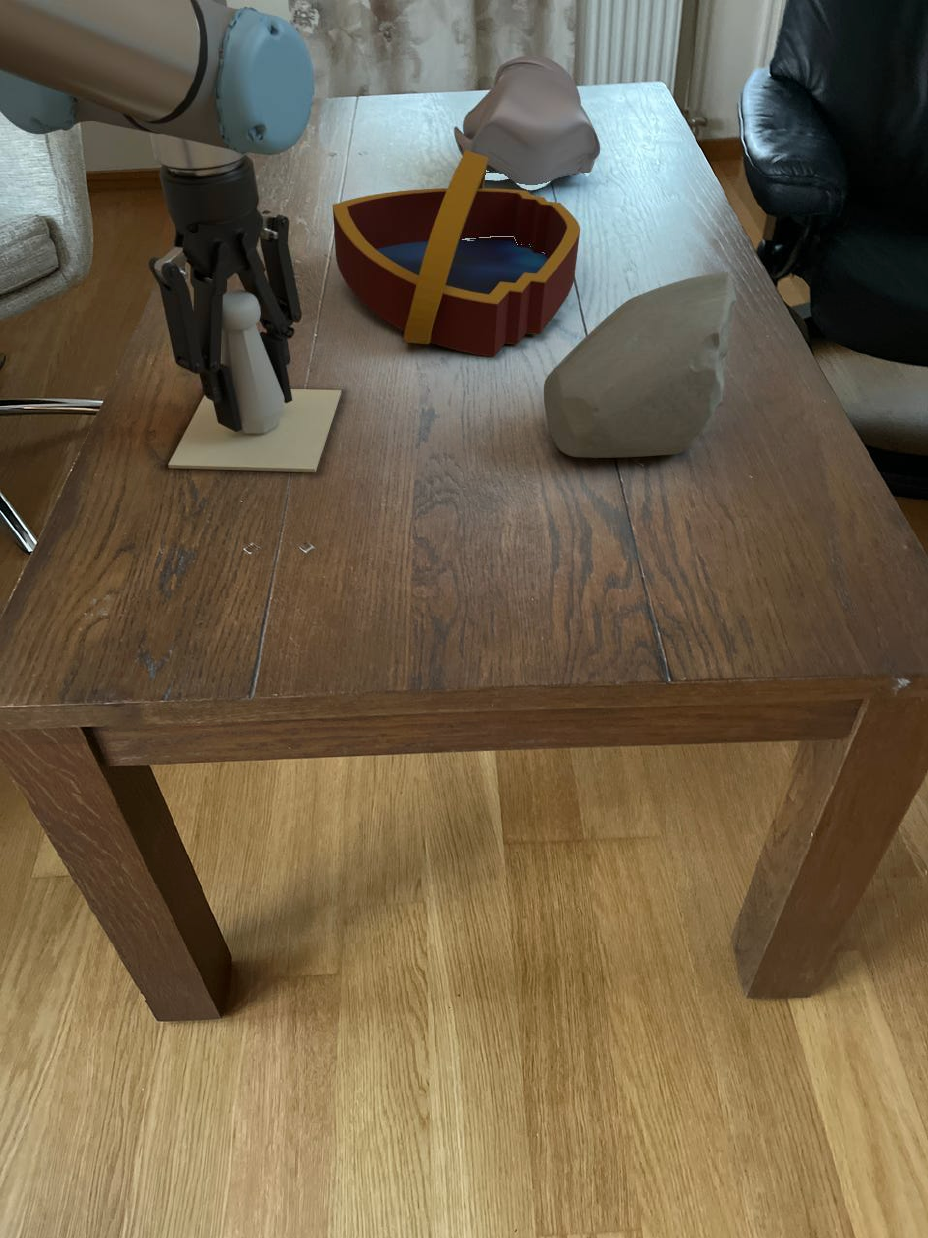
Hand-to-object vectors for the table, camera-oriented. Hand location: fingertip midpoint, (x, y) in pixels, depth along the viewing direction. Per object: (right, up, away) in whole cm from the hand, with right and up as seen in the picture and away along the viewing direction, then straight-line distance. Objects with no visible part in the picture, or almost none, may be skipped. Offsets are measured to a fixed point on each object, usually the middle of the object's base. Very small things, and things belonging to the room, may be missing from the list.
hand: (255, 410), depth 92 cm
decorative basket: (+19, +19, +22) cm, 35 cm away
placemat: (0, -1, +1) cm, 2 cm away
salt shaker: (0, -1, +1) cm, 2 cm away
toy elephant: (+29, +44, +47) cm, 71 cm away
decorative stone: (+37, -3, -1) cm, 37 cm away
